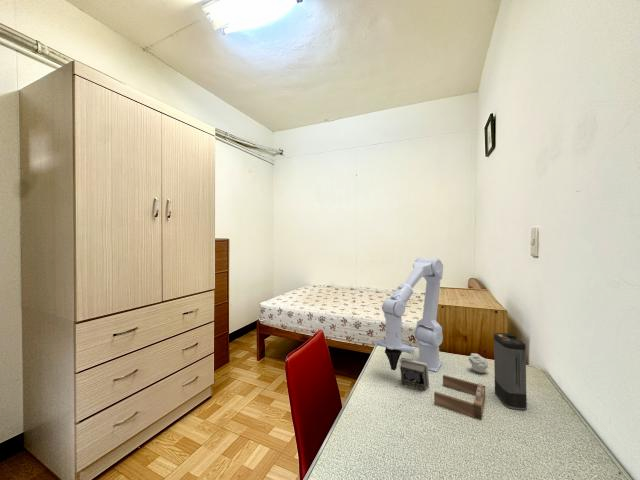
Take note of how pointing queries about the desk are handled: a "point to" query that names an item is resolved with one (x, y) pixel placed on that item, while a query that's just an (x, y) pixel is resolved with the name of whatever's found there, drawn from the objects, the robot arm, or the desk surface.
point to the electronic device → (510, 370)
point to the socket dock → (458, 404)
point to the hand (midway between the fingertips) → (393, 369)
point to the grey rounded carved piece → (478, 363)
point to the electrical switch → (414, 374)
